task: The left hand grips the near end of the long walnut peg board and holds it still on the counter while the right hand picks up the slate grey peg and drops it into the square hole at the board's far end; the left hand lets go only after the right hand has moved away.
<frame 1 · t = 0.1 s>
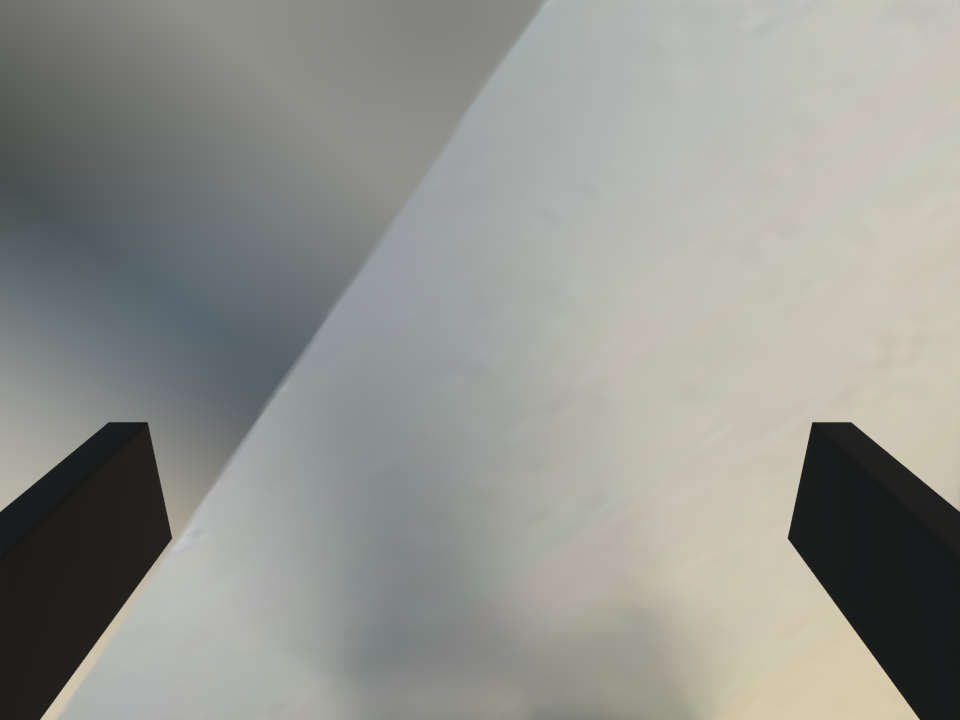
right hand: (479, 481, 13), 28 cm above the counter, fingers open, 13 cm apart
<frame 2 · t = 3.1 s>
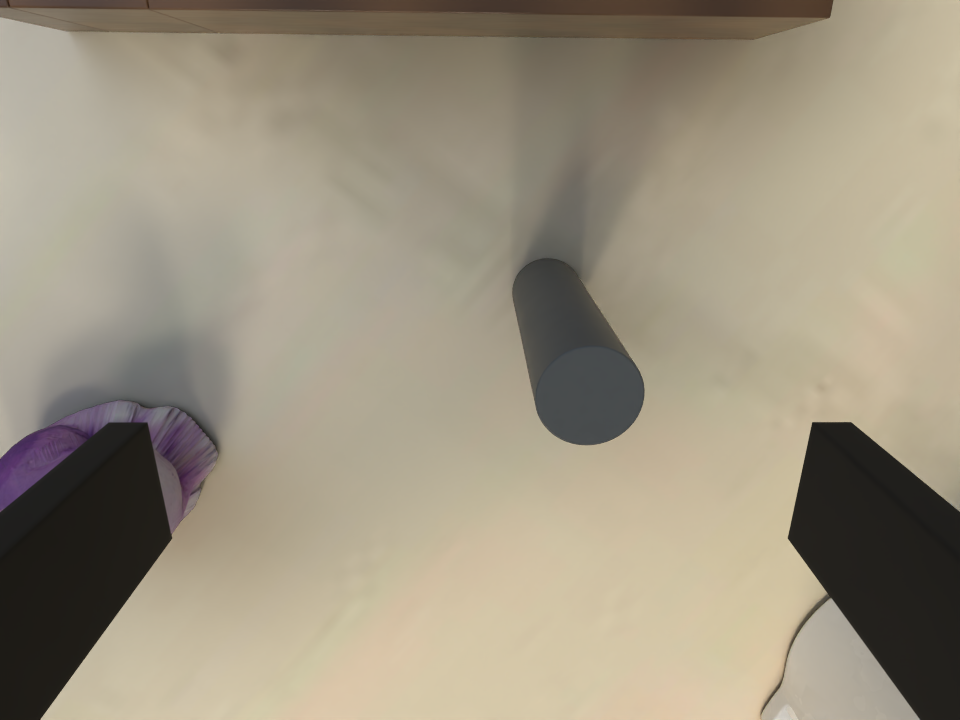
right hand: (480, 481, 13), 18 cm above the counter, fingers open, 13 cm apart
peg: (546, 292, 30), on the counter
figurine: (131, 458, 33), on the counter
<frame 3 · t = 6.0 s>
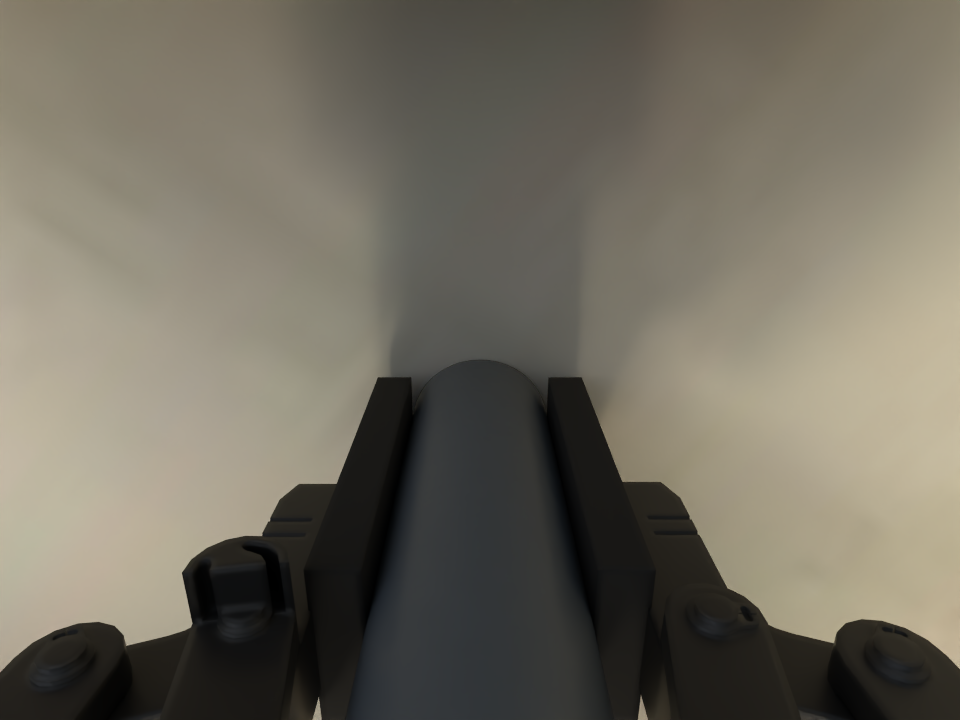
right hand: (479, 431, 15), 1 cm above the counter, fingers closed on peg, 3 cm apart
peg: (479, 420, 15), on the counter, touching right hand
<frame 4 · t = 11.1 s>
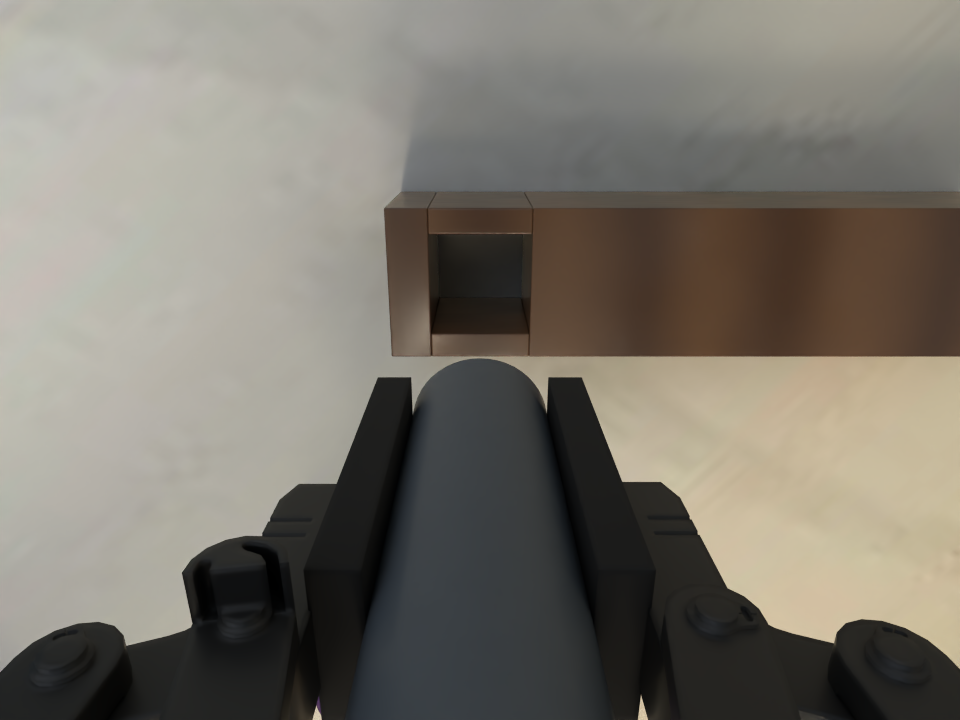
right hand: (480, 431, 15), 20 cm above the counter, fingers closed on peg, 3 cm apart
peg board: (671, 256, 33), on the counter
peg: (479, 419, 15), point 19 cm above the counter, touching right hand
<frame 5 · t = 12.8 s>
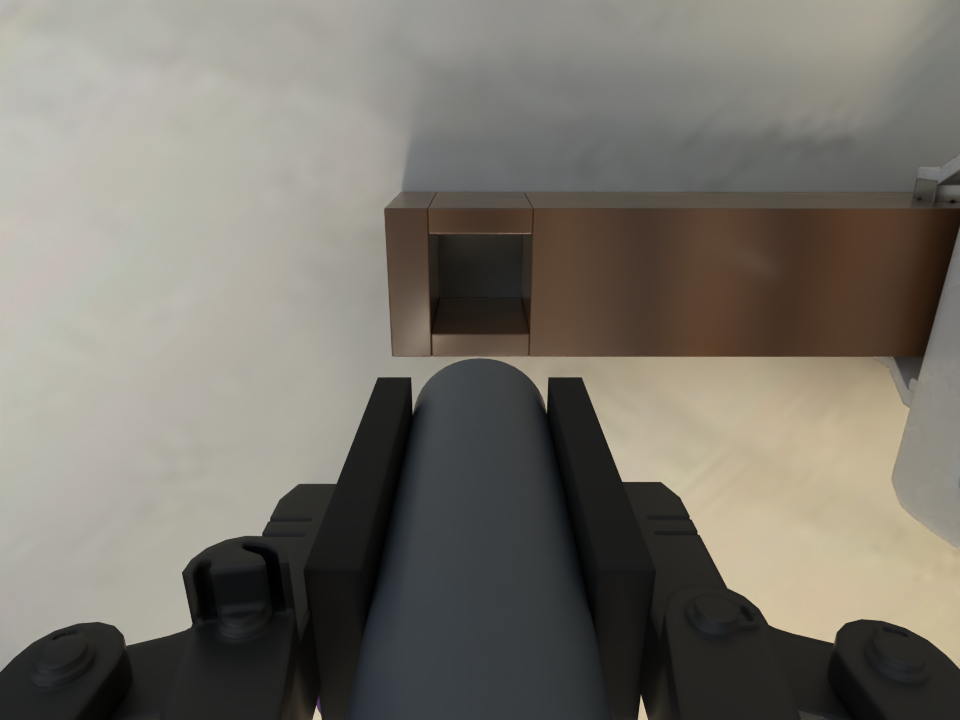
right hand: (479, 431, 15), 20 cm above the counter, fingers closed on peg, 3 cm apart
peg board: (671, 256, 33), on the counter, touching left hand
peg: (479, 419, 15), point 19 cm above the counter, touching right hand
when the right hand's fingers open (8 cm above the counter, at t = 16.3 s): peg drops 7 cm, resting in peg board.
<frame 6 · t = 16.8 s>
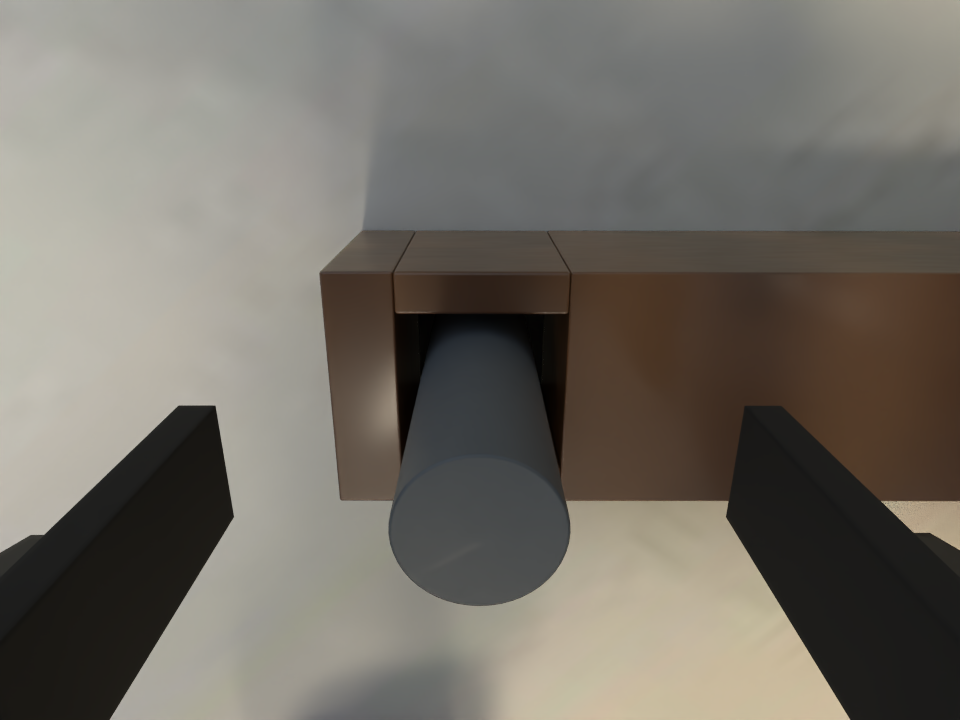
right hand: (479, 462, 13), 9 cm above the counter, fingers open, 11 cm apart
peg board: (764, 325, 22), on the counter, touching left hand
peg: (479, 324, 22), resting in peg board
when the left hand's fingers open (2 cm above the counter, at t = 21.0 s): peg board stays where it is, on the counter.
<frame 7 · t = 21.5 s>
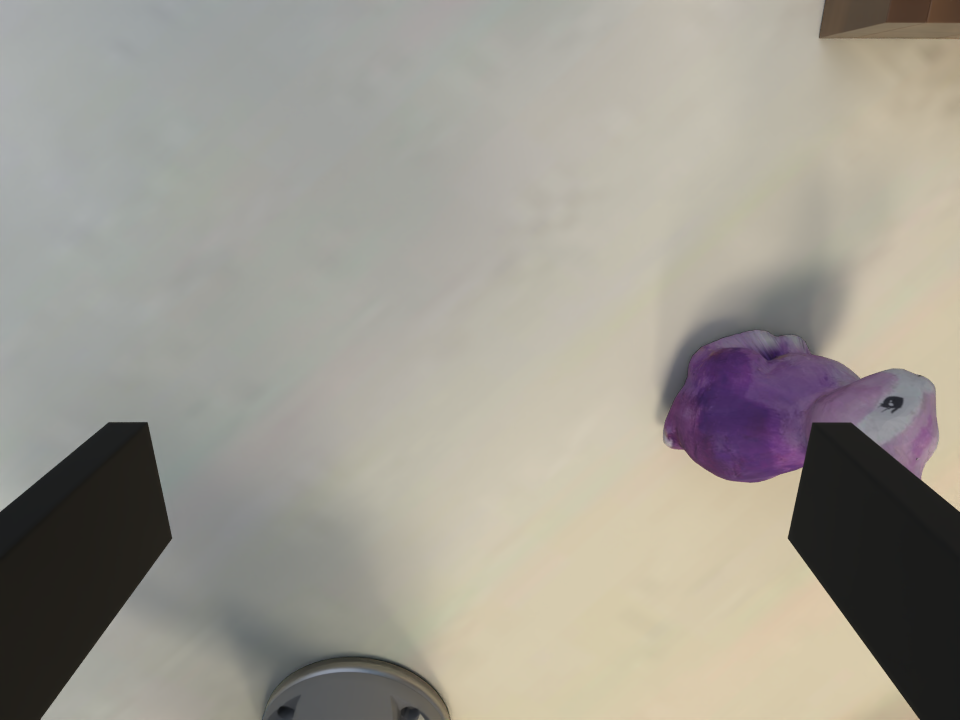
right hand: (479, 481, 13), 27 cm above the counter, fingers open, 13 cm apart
figurine: (742, 378, 41), on the counter
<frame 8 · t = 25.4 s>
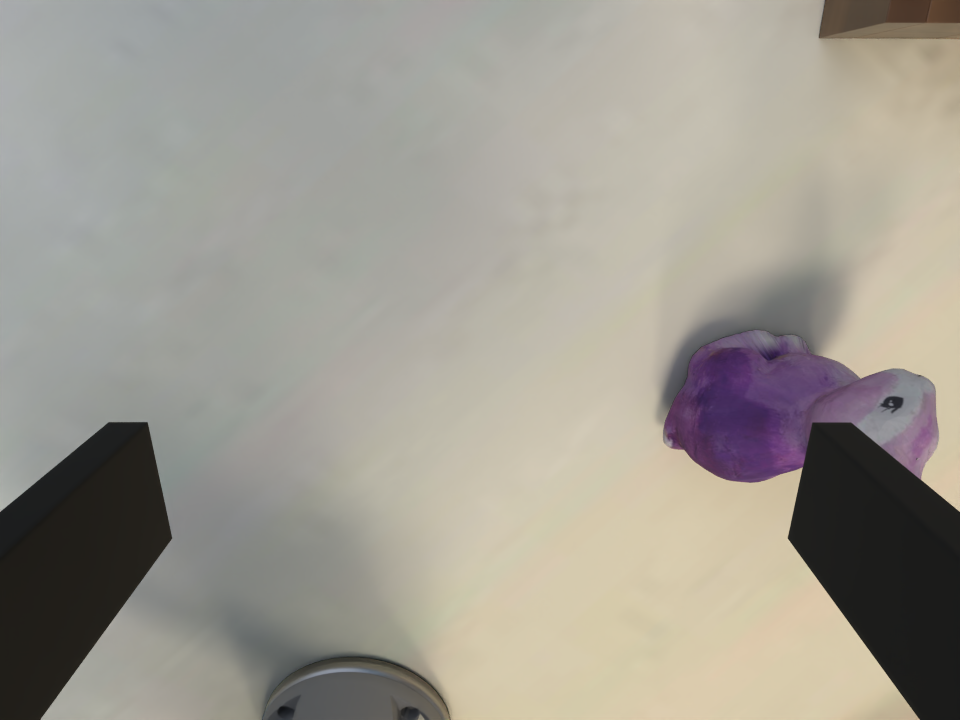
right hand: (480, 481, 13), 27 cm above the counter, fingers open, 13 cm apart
figurine: (742, 378, 41), on the counter
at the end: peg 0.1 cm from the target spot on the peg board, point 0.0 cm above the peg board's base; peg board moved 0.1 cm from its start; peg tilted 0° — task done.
